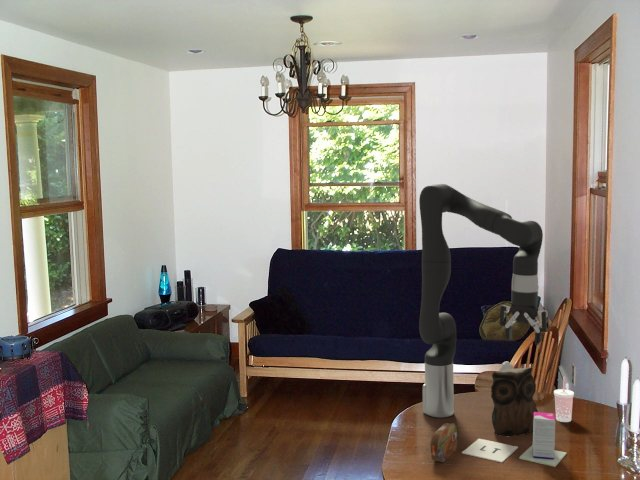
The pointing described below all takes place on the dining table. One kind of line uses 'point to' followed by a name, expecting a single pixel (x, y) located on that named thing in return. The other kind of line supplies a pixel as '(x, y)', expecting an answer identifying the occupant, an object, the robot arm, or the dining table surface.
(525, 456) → the sage mat
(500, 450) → the tile
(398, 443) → the dining table surface
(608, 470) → the dining table surface
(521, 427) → the owl
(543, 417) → the supplement box
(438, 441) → the tin
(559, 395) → the beverage cup
